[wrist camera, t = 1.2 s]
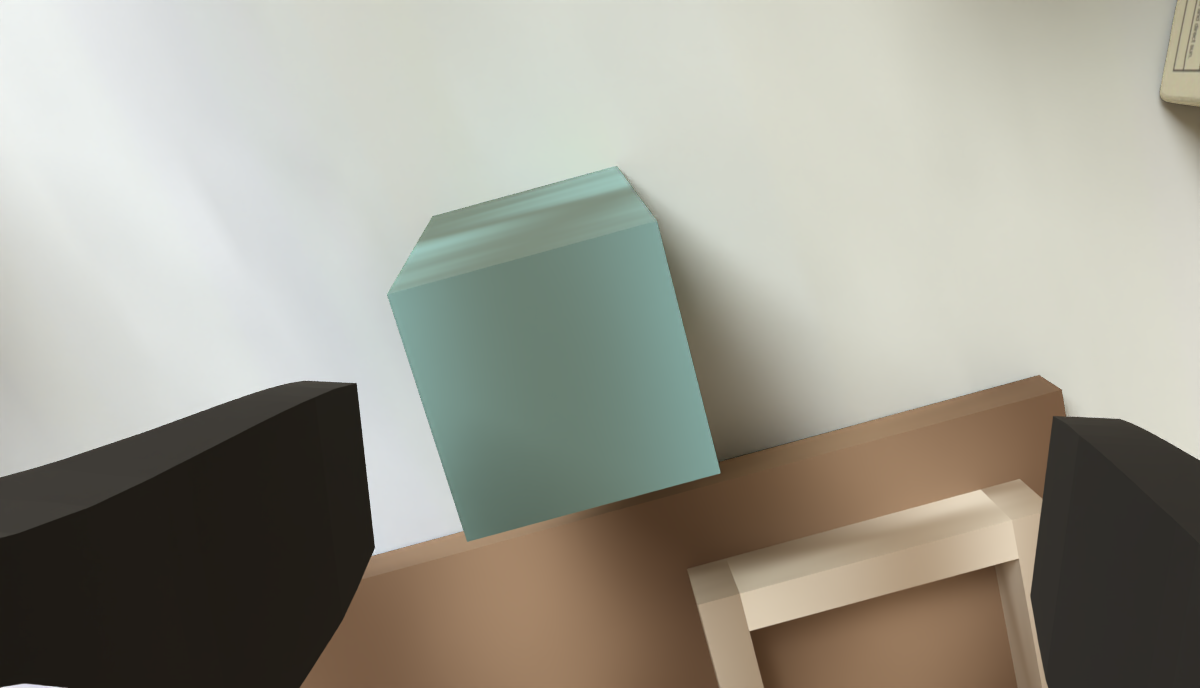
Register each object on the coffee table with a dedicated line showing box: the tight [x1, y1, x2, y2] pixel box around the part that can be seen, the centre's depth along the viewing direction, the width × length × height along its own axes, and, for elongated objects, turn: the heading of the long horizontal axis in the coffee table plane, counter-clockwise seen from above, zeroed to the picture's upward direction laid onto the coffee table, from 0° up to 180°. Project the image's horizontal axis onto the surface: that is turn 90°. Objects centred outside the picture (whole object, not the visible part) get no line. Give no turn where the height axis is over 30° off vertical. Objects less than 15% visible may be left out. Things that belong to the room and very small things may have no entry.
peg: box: [387, 166, 721, 542], centre depth 18 cm, size 4×4×7 cm
